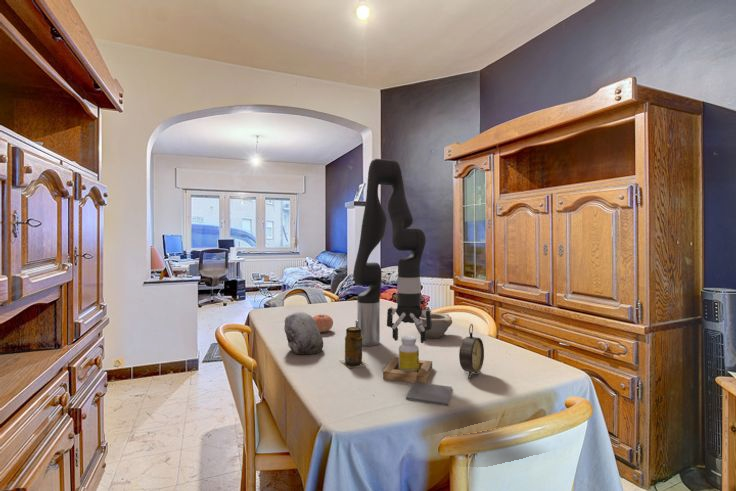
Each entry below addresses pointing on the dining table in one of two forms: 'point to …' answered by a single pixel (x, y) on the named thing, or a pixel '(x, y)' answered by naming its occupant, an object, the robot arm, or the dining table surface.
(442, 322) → the mortar
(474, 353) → the alarm clock
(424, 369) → the wooden square frame
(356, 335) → the condiment
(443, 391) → the slate coaster
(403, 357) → the pill bottle
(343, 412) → the dining table surface
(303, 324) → the stone
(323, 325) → the tomato
